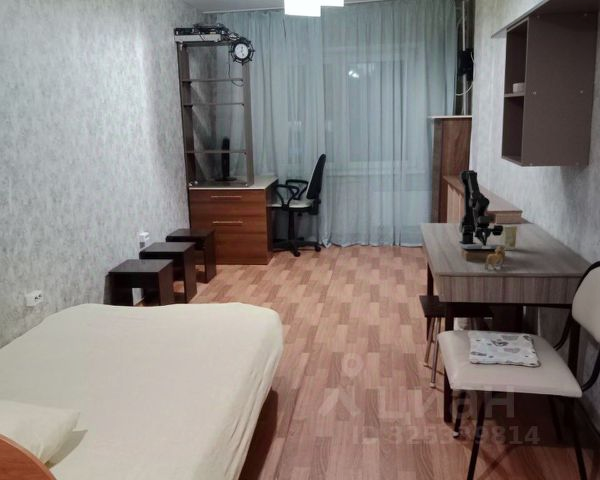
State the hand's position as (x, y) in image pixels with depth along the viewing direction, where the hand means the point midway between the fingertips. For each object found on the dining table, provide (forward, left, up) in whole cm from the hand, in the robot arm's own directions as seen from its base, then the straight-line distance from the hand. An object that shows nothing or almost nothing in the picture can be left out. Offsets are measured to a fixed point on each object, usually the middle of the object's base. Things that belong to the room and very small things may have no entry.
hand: (485, 245), depth 272 cm
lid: (-4, +1, -2) cm, 4 cm away
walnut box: (-4, +1, -7) cm, 8 cm away
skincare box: (-16, +22, -7) cm, 28 cm away
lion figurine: (+13, -2, -7) cm, 15 cm away
